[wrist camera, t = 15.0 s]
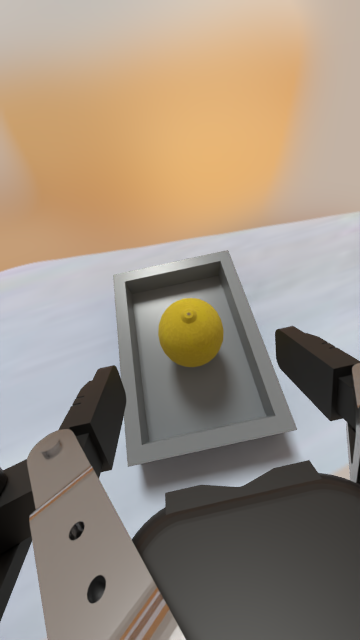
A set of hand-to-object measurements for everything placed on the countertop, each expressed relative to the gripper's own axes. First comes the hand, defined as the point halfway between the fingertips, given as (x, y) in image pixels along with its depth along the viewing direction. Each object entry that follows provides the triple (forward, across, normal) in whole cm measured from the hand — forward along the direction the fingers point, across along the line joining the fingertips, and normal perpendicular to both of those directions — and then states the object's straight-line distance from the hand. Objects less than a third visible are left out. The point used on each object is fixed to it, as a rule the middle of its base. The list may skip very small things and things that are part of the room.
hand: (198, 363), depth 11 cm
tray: (+11, 0, +5) cm, 12 cm away
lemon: (+11, 0, +5) cm, 12 cm away
